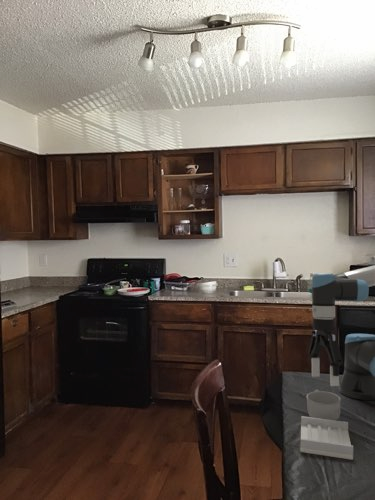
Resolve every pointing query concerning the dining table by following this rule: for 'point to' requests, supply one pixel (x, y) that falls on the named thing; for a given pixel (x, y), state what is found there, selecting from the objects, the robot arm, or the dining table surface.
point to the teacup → (323, 405)
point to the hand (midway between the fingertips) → (324, 381)
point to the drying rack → (325, 437)
